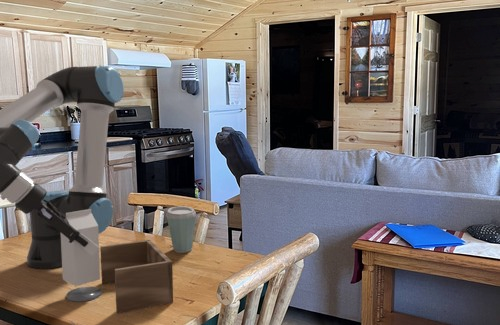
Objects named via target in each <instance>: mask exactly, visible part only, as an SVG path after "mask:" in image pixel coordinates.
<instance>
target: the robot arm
mask: <svg viewBox="0 0 500 325" xmlns="http://www.w3.org/2000/svg"><path fill="white" fill-rule="evenodd" d="M124 90H125V88H124V83H123V79H122V78H121V75H120V74H119V72H118V71H117V70H116V69H115V68H113V67H112V66H107V65H106V66H105V65H104V66H102V65H95V66H94V65H93V66H92V65H91V66H88V65H87V66H69V67H65V68H63V69H60V70H58V71H56V72H54V73H52V74H50V75H48V76H47V77H46V76H45V78H43V79H41V80H40V81H38V83H36V87H35V88H33V89H32V90H30V91H28V92H27V93H25V94H23V95H21V96H20V97H19V98H17V99H15V100H14V101H12V102H10V103H9V104H7V105H5V106H4V107H3V108H0V199H1V200H2V201H4V200H6V201H8V202H9V203H11V204H14V205H15V206H14V207H15V208H16V209H18V210H19V211H20V212H22V213H23V214H25V215H26V214H27V215H28V214H29V219H30V220H29V221H30V233H31V243H30V245H29V246H30V247H29V250H28V253H27V256H26V263H27V266H28V267H30V268H34V269H54V268H60V267H61V268H62V252H61V233H62V234H63V235H65V236H66V237H67V238H68V239H69V240H70V241H69V242H70V243H72V242H75V243H76V244H77V245H79V246H80V247H81V248H82V249H84V250H85V251H86V252H88V253H89V254H90V255H92V256H93V255H94V254H95V252H96V251H97V250H98V249H99V250H100V246H99V247H98V246H97V245H96V244H94V243H93V242H92V241H91V240H89V239H88V238H87V237H86V236H84V235H83V234H82V233H79V232H78V231H77V230H75V229H74V228H73V227H72V226H71V225H70V224H69V223H67V222H66V221H65V220H64V219H65V218H66V213H69V212H75V211H81V210H87V209H91V213H92V215H93V217H94V219H95V220H96V222H97V224H98V235H100V234H102V233H103V232H105V231H106V230H107V228H108V227H109V226H110V223H111V222H112V220H113V216H114V215H113V214H114V206H113V203H112V201H111V199H109V198H107V196H108V195H107V194H108V192H107V191H106V190H105V189H104V186H103V185H104V175H105V164H106V153H107V142H108V129H109V121H110V120H109V118H110V114H111V113H112V112H114V110H115V105H116V104H117V103H119V102H120V101H122V99H123V97H124V92H125V91H124ZM68 103H69V104H70V103H76V106H77V107H78V109H79V110H80V111H81V112H80V122H79V131H78V133H79V134H78V141H77V142H78V143H77V144H78V145H77V155H76V164H75V176H74V185H73V186H72V187H71V188H70V189H68V190H66V189H61V190H53V191H47V190H46V189H45V188H43V187H42V186H41V185H39V184H38V183H35V182H34V181H35V180H34V179H33V178H31V177H30V176H29V175H27V173H25V172H24V171H23V170H21V169H20V168H19V167H17V165H18V164H19V162H20V161H21V160H22V159H23V158H24V157H25V156H27V154H28V153H29V152H30V150H32V149H33V148H34V146H35V145H36V143H37V142H38V141H39V138H40V132H39V131H38V129H37V127H36V126H35V125H34V124H33V123H32V122H33V121H35V120H36V119H38V118H39V117H40V116H42V115H43V114H45V113H46V112H47V111H49V110H51V109H53V108H54V109H58V108H59V107H61V106H62V105H64V104H68ZM72 233H73V234H72ZM71 234H72V235H71ZM70 235H71V236H70Z"/></svg>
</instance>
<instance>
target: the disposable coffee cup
mask: <svg viewBox="0 0 500 325" xmlns="http://www.w3.org/2000/svg"><path fill="white" fill-rule="evenodd" d="M165 217H166V219H167V224H168V229H169V230H168V231H169V233H170V234H169V236H170V239H171V244H172V249H173V252H175V253H178V254H181V253H182V254H183V253H189V252H190V251H192V248H193V246H194V245H193V243H194V235H195V226H196V217H197V212H196V211H195V209H194V207H190V206H185V205H181V206H172V207H169V209H167V210H166V212H165Z"/></svg>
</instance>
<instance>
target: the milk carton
mask: <svg viewBox="0 0 500 325" xmlns="http://www.w3.org/2000/svg"><path fill="white" fill-rule="evenodd" d="M64 220H65V221H66V222H67V223H69V224H70V225H71V226H72V227H73V228H74V229H75V230H77V231H78V232H79V233H82V234H83V235H84V236H86V237H87V238H88V239H89V240H91V241H92V242H93V243H94V244H96V245H97V246H98V247H99V249H98V250H97V251H96V252H95V254H94V255H93V256H92V255H90V254H89V253H88V252H86V251H85V250H84V249H82V248H81V247H80V246H79V245H77V244H76V243H75V242H72V243H70V242H69V241H70V240H69V239H68V238H67V237H66V236H65V235H63V234H62V233H61V252H62V266H61V269H62V270H61V271H62V273H61V274H62V280H63V281H64V282H66V283H68V284H70V285H72V286H74V287H78V286H83V285H85V284H89V283H92V282H95V281H99V280H101V263H100V239H99V235H100V234H98V224H97V222H96V220H95V219H94V217H93V215H92V213H91V209H87V210H81V211H75V212H69V213H66V218H65V219H64ZM72 234H73V233H72ZM72 234H71V235H72ZM71 235H70V236H71Z"/></svg>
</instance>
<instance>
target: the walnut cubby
mask: <svg viewBox="0 0 500 325" xmlns="http://www.w3.org/2000/svg"><path fill="white" fill-rule="evenodd" d="M99 252H100V276H101V284H102V285H107V284H113V283H114V284H115V285H114V286H115V289H114V290H115V306H116V307H115V309H116V310H115V311H116V313H117V314H119V313H120V314H121V313H126V312H131V311H136V310H140V309H142V310H143V309H146V308H152V307H156V306H160V305H166V304H173V303H174V289H173V288H174V285H173V284H174V283H173V282H174V279H173V278H174V277H173V276H174V275H173V273H174V272H173V261H172V260H171V259H170V258H169V257H168V256H167V255H166V254H165V253H164V252H163V251H162V250H161V249H160V248H159V247H158V246H157V245H156V244H155V243H153V241H151V239H146V240H139V241H131V242H123V243H117V244H116V243H115V244H109V245H108V244H107V245H99Z"/></svg>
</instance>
